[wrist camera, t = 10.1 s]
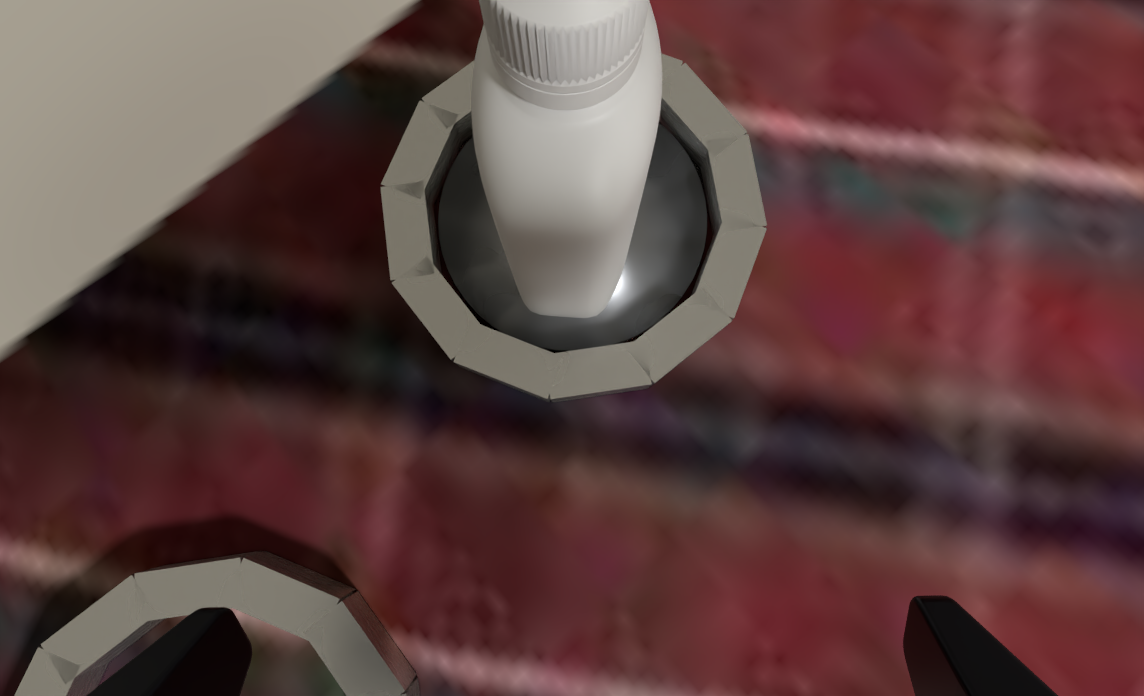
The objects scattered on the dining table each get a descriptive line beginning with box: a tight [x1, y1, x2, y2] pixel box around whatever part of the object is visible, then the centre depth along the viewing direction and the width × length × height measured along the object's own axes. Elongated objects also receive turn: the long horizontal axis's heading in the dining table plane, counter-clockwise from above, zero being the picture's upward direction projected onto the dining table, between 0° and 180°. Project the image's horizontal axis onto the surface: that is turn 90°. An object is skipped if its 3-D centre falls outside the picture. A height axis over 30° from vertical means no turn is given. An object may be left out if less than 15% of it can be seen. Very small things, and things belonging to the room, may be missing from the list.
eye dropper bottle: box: [471, 0, 662, 318], centre depth 13 cm, size 4×6×12 cm
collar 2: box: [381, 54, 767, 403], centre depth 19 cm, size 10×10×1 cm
